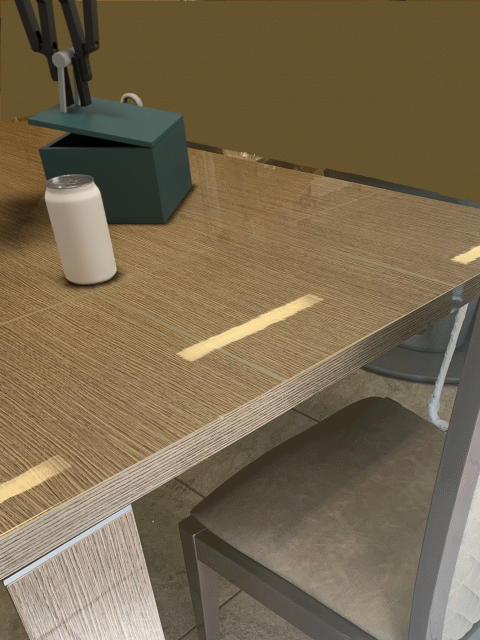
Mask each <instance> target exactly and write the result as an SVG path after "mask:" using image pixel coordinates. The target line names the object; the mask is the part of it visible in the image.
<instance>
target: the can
mask: <svg viewBox="0 0 480 640" xmlns="http://www.w3.org/2000/svg"><path fill="white" fill-rule="evenodd" d="M44 186H45V192H44V201H45V205H46V209H47V212H48V217H49V220H50V225H51V227H52V228H51V229H52V232H53V236H54V239H55V243H56V247H57V251H58V255H59V259H60V262H61V266H62V270H63V272H64V277H65V279H66V280H68V281H69V282H71V283H72V284H74V285H79V286H93V285H97V284H103V283H105V282H107V281H110V280H111V279H112V278H114V276H115V275H116V273H117V270H118V268H117V265H116V259H115V254H114V249H113V244H112V240H111V236H110V235H111V234H110V230H109V224H107V221H106V216H105V211H104V207H103V202H102V198H101V194H100V191H99V189H98V187H97V186H96V185H95V183H94V178H93V177H91V176H88V175H80V174H76V175H64V176H59V177H55V178H52V179H49V180H46V181H45V182H44Z"/></svg>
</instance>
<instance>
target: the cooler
mask: <svg viewBox="0 0 480 640" xmlns="http://www.w3.org/2000/svg"><path fill="white" fill-rule="evenodd" d="M185 127H186V126H185V120H184V119H183V120H182V121H181V122H180V123H179V124H178V125H176V126H175V127H174V128H173V129H172V130H171V131H170V132H169V133H168V134H167V135H166V136H164V137H163V138H162V139H161V140H160V141H159V142H158V143H157V144H156V145H155V146H154V147H152V148H149V147H143V146H138V145H133V144H128V143H122V142H117V141H112V140H107V139H102V138H96V137H91V136H86V135H81V134H75V133H70V132H64V133H63V134H61V135H59V136H58V137H56V138H54V139H53V140H51V141H50V142H48V143H46V144H44V145H43V146H41V147H40V148H38V153H39V157H40V160H41V161H40V162H41V164H42V170H43V173H44V175H45V180H46V181H47V180H49V179H52V178H55V177H59V176H64V175H76V174H80V175H88V176H91V177H93V178H94V183H95V185H96V186H97V187H98V189H99V191H100V194H101V198H102V202H103V207H104V211H105V216H106V221H107V225H111V224H113V225H119V224H121V225H123V224H124V225H165V224H166V222H168V220H169V219H170V217H171V216H172V215H173V213H174V212H175V210H176V209H177V208H178V206H179V205H180V203H182V201H183V199H184V198H185V197H186V196H187V194H188V193H189V191H190V190H191V189H192V188H193V181H192V172H191V165H190V159H189V158H190V157H189V150H188V143H187V136H186V135H187V134H186V128H185Z"/></svg>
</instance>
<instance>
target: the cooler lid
mask: <svg viewBox="0 0 480 640" xmlns="http://www.w3.org/2000/svg"><path fill="white" fill-rule="evenodd" d="M59 51H60V52H57V53H54V54H53V56H52V62H53V64H54V65H55V66H56V67H57V70H58V81H57V84H58V98H59V102H58V103H56V104H54V105H52V106H51V107H49V108H46V109H45V110H42V111H40V112H38V113H36V114H34V115H32V116H30V117H28V118H27V125H29V126H34V127H39V128H44V129H49V130H56V131H59V132H64V133H66V132H70V133H75V134H81V135H86V136H91V137H96V138H102V139H107V140H112V141H117V142H122V143H128V144H133V145H138V146H143V147H149V148H152V147H154V146H155V145H156V144H157V143H158V142H159V141H160V140H161V139H162V138H163V137H164V136H166V135H167V134H168V133H169V132H170V131H171V130H172V129H173V128H174V127H175V126H176V125H178V124H179V123H180V122H181V121H182V120H184V114H183V113H178V112H173V111H169V110H164V109H163V110H162V109H159V108H158V109H157V108H154V107H153V108H152V107H148V106H144V105H143V106H137V105H136V104H132V103H128V102H127V103H122V102H120V101H116V100H111V99H106V98H101V97H96V96H91V95H90V97H91V102H92V104H90V105H88V106H86V107H81V104H80V99H79V94H78V90H77V85H76V80H75V75H74V70H73V69H72V78H73V98H74V102H75V104H73V105H71V106H69V107H66V96H65V80H64V67H67V68H68V67H69V66H72V61H71V58H73V57H75V56H74V53H75V51H74V48H73V46H72V47H69V48H66V49H63V50H59Z"/></svg>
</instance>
